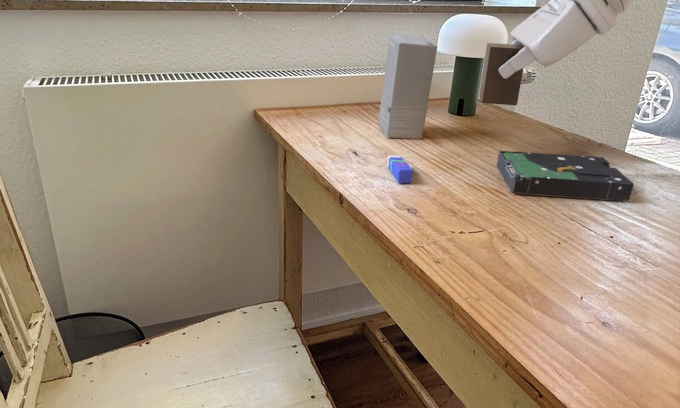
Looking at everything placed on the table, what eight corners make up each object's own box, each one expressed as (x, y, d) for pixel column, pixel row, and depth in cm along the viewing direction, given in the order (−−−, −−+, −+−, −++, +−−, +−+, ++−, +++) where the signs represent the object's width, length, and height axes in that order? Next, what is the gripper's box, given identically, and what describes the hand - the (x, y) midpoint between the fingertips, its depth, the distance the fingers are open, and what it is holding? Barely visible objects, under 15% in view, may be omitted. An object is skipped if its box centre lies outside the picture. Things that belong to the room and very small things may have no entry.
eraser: (400, 168, 73) (401, 154, 72) (411, 183, 67) (413, 169, 66) (386, 168, 72) (387, 154, 71) (397, 184, 67) (398, 169, 66)
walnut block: (512, 98, 79) (521, 44, 76) (516, 105, 75) (527, 48, 71) (479, 96, 80) (487, 42, 76) (482, 103, 75) (490, 46, 72)
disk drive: (597, 174, 74) (494, 167, 74) (602, 156, 73) (498, 148, 73) (630, 204, 64) (511, 195, 65) (636, 183, 63) (515, 174, 64)
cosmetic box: (377, 125, 93) (383, 34, 86) (415, 125, 93) (425, 35, 87) (386, 139, 85) (394, 40, 78) (427, 139, 86) (439, 41, 79)
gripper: (552, -16, 79) (478, 46, 84) (590, -15, 60) (492, 64, 66) (576, 16, 80) (502, 75, 85) (620, 27, 62) (521, 101, 67)
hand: (497, 70), depth 75 cm, fingers closed on walnut block, 5 cm apart
